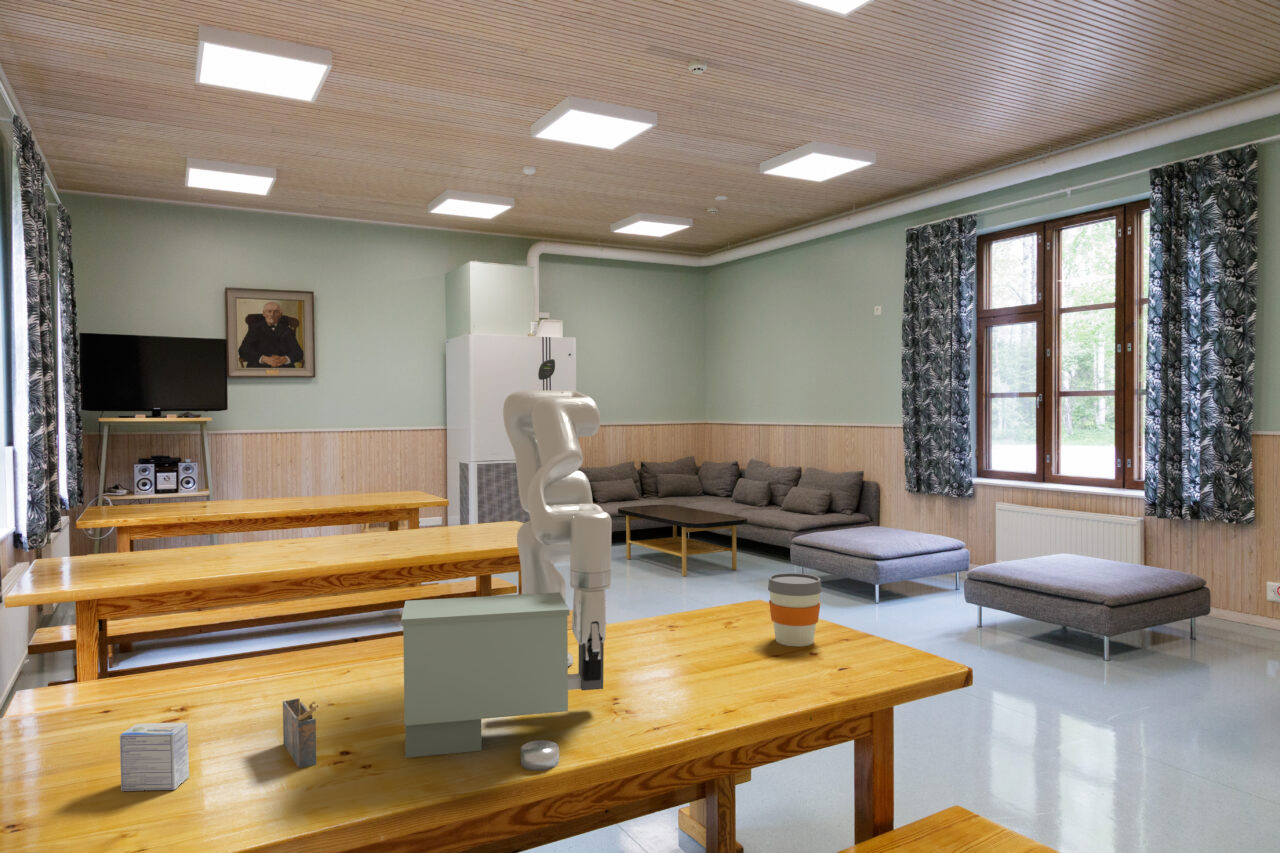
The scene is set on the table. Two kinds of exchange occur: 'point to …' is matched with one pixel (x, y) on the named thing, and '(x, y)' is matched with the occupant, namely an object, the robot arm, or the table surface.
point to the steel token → (539, 755)
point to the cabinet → (480, 666)
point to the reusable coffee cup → (794, 607)
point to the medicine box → (154, 756)
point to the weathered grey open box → (299, 732)
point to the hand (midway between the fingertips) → (589, 674)
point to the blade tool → (577, 679)
